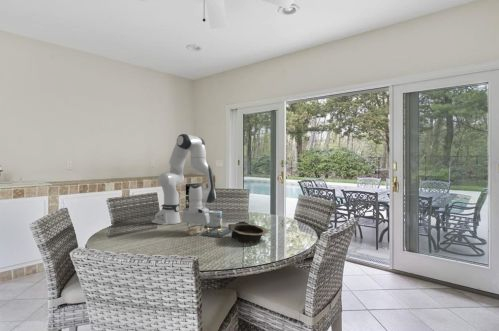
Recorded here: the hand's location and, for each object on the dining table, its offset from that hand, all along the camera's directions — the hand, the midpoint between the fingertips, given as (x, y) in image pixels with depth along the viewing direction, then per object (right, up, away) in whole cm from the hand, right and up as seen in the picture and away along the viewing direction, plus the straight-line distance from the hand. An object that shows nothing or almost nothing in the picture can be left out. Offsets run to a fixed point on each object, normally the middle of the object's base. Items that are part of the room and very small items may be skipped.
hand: (195, 229), depth 195 cm
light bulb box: (+10, -2, +18) cm, 21 cm away
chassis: (+16, -2, -1) cm, 16 cm away
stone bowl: (+35, -3, -16) cm, 39 cm away
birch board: (0, -2, 0) cm, 2 cm away
